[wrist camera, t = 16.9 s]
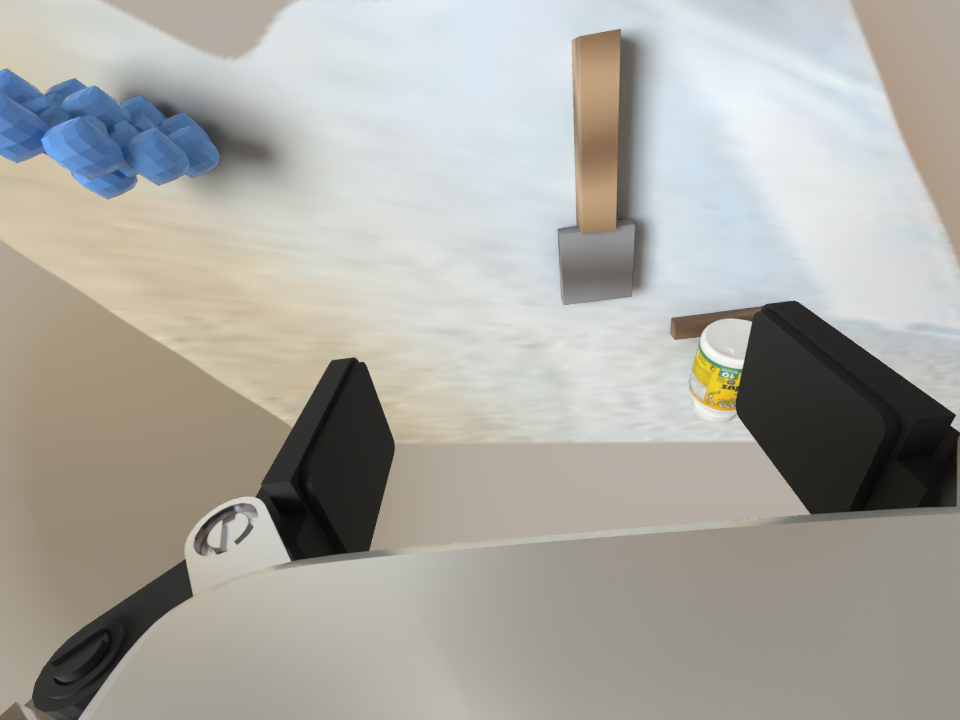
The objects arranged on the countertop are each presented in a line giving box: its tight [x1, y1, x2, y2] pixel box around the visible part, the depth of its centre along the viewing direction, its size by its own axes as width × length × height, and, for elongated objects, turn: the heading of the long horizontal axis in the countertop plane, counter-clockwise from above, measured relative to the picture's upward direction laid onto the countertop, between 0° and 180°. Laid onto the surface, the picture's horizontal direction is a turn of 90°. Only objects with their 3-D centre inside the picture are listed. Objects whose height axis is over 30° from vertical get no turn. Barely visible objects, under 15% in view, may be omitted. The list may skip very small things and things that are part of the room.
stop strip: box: [670, 307, 762, 340], centre depth 38 cm, size 2×10×1 cm, turn 99°
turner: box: [558, 29, 635, 305], centre depth 32 cm, size 18×6×3 cm, turn 9°
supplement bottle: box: [689, 318, 752, 423], centre depth 38 cm, size 5×5×10 cm
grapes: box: [0, 69, 220, 199], centre depth 26 cm, size 12×7×12 cm, turn 70°
